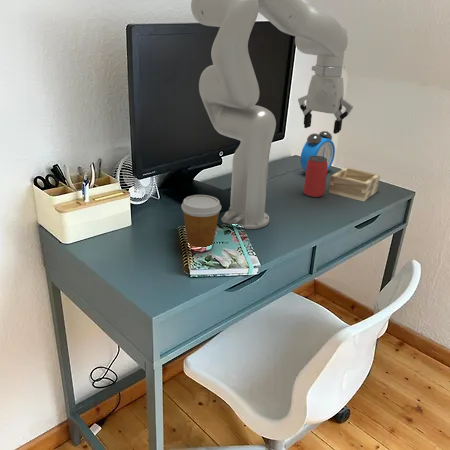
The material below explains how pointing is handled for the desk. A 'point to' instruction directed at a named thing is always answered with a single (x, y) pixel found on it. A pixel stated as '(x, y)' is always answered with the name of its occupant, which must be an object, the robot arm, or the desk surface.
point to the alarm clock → (318, 148)
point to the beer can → (315, 176)
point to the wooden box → (354, 184)
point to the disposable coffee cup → (200, 219)
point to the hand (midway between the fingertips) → (321, 130)
